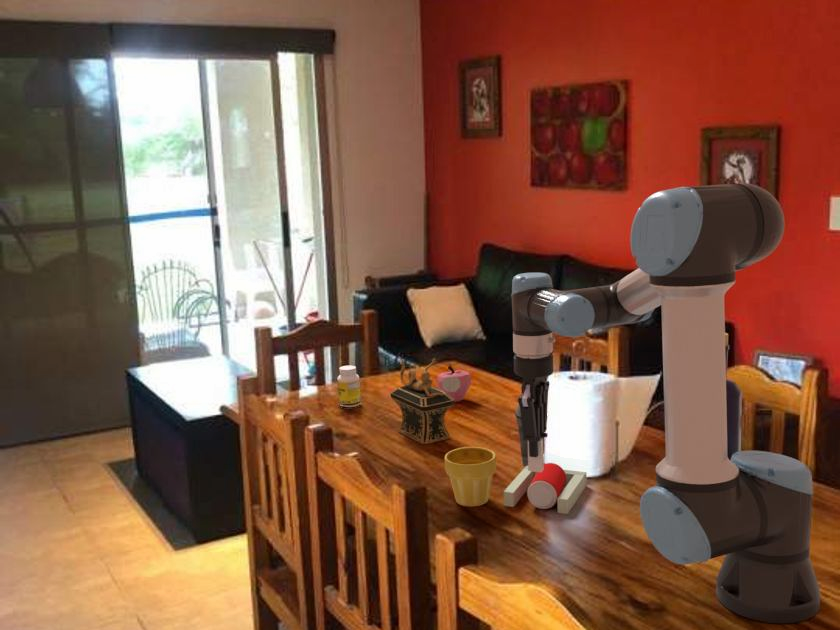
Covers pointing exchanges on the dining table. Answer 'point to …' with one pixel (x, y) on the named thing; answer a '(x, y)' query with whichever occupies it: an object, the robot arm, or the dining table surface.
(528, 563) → the dining table surface
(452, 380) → the apple
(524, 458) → the beverage cup
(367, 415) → the dining table surface
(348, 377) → the pill bottle
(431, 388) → the decorative box
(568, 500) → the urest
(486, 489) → the plant pot
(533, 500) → the beverage can
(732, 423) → the bottle
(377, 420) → the dining table surface
